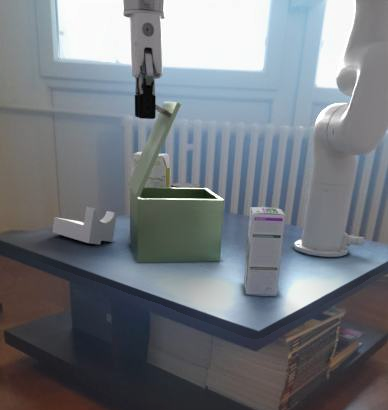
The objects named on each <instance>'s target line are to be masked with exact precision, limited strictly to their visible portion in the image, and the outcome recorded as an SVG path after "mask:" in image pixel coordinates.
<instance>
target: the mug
mask: <svg viewBox="0 0 388 410" xmlns="http://www.w3.org/2000/svg"><path fill="white" fill-rule="evenodd" d="M170 188H202V187H201V185H200V184H197V183H192V182H174V183H170Z"/></svg>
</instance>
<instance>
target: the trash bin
mask: <svg viewBox="0 0 388 410" xmlns="http://www.w3.org/2000/svg"><path fill="white" fill-rule="evenodd" d="M224 210H225V199H223V198H222V197H220V196H219V195H217V194H216V193H215V192H213V191H212V190H210V189H209V188H207V187H201V188H171V187H170V188H159V187H144V188H143V190H142V193H141V195H140V197H137V196H136V195H135V194H134V192H133V191H132V189H131V188H130V187H129V244H130V247H131V250H132V252H133V255H134V257H135V259H136V263H138V264H139V263H195V262H197V263H200V262H207V263H208V262H220V261H221V252H222V237H223V222H224Z"/></svg>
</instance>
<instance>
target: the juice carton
mask: <svg viewBox="0 0 388 410" xmlns="http://www.w3.org/2000/svg"><path fill="white" fill-rule="evenodd" d="M141 153H142V151H137V152H134V153H132V155H131V156H132V157H131V163H130V177H131V176H132V174H133V172H134V169H135V167H136V165H137V163H138V160H139V158H140V156H141ZM144 187H159V188H171V160H170V155H169V153H159V155H158V157H157V159H156V161H155V164H154V166H153V168H152V170H151V173H150V175H149V177H148V179H147V182H146V184H145V186H144Z"/></svg>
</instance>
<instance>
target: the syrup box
mask: <svg viewBox="0 0 388 410" xmlns="http://www.w3.org/2000/svg"><path fill="white" fill-rule="evenodd" d="M248 219H249V220H248V228H247V241H246V251H245V252H246V253H245V265H244V276H243V287H244V291H245V292H244V293H245V295H249V296H259V297H260V296H261V297H262V296H263V297H277V295H278V287H279V279H280V271H281V262H282V253H283V252H282V251H283V244H284V243H283V241H284V233H285V225H286V214H285V212H284V211H283V209H282V208H279V207H271V206H254V207H253V206H250V208H249V216H248Z"/></svg>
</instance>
